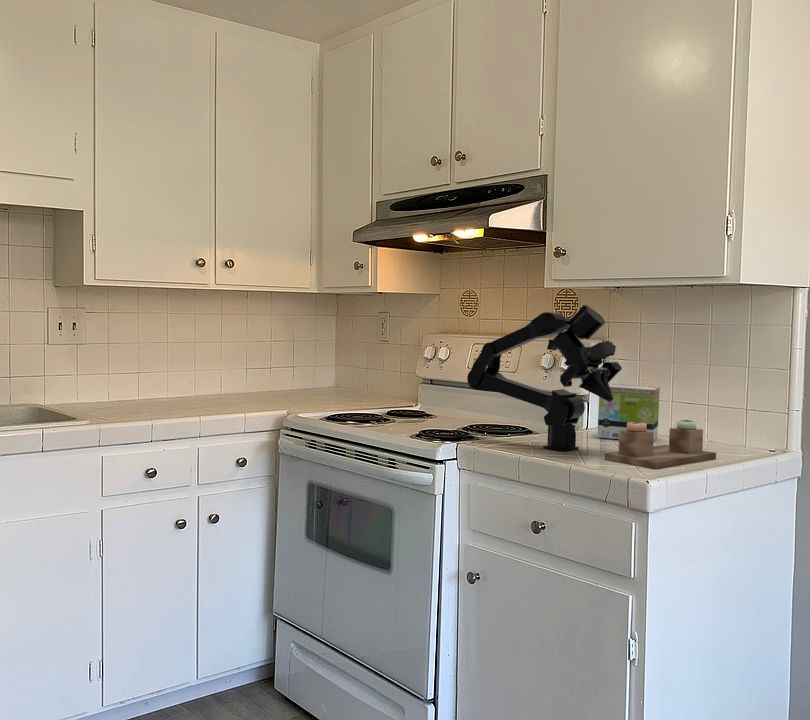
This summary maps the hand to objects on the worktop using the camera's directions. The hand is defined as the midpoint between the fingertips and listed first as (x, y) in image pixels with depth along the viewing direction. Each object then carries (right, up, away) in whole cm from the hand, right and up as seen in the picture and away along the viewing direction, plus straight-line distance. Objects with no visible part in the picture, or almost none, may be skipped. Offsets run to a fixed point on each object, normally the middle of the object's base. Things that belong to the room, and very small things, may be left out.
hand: (611, 400), depth 190 cm
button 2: (+18, -7, +1) cm, 19 cm away
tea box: (+13, -12, +31) cm, 36 cm away
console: (+11, -14, -2) cm, 18 cm away
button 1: (+5, -7, -5) cm, 9 cm away
